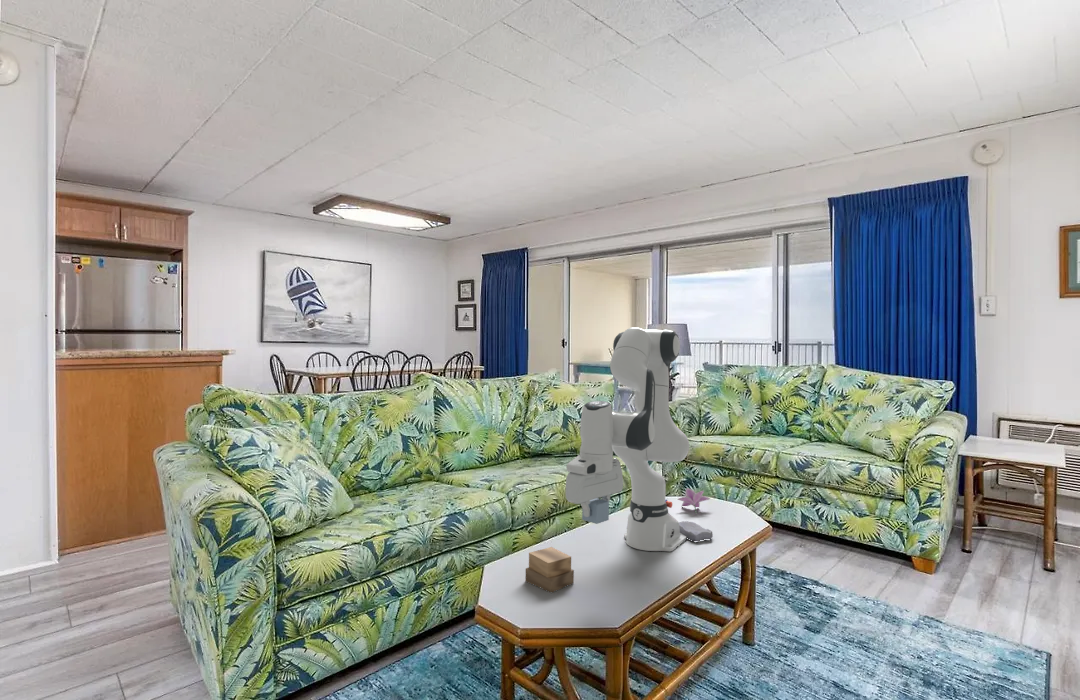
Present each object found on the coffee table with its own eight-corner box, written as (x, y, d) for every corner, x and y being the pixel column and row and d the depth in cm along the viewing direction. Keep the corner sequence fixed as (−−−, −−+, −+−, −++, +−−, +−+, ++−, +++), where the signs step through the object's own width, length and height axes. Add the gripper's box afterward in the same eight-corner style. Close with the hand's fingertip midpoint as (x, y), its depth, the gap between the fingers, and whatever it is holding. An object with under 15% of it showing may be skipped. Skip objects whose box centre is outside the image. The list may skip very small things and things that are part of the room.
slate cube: (594, 515, 154) (594, 497, 154) (608, 520, 151) (608, 501, 151) (582, 519, 151) (582, 501, 151) (596, 524, 147) (597, 504, 147)
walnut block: (547, 573, 163) (547, 560, 163) (573, 584, 156) (573, 570, 156) (525, 582, 157) (525, 568, 157) (551, 594, 150) (551, 579, 150)
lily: (714, 514, 226) (709, 490, 230) (707, 509, 217) (702, 485, 221) (685, 519, 230) (680, 496, 235) (677, 515, 221) (672, 490, 226)
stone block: (694, 534, 204) (671, 532, 200) (696, 521, 204) (674, 518, 200) (715, 547, 193) (692, 544, 189) (718, 533, 193) (695, 530, 189)
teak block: (551, 560, 163) (551, 546, 163) (571, 571, 156) (571, 556, 156) (528, 566, 158) (529, 552, 158) (548, 577, 151) (548, 563, 151)
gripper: (610, 455, 160) (610, 503, 160) (562, 465, 146) (561, 518, 146) (628, 458, 156) (628, 508, 156) (580, 469, 141) (579, 524, 141)
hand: (595, 513), depth 151 cm, fingers closed on slate cube, 5 cm apart
